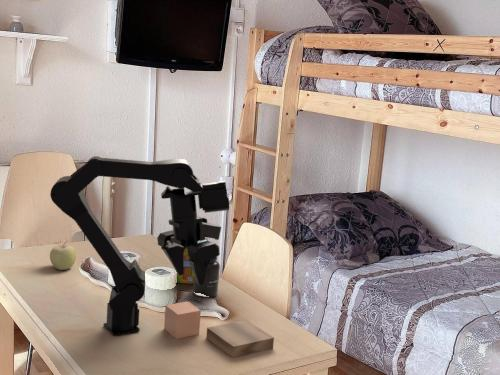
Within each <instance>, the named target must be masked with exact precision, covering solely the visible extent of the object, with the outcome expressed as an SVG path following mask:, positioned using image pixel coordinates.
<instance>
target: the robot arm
mask: <svg viewBox="0 0 500 375" xmlns="http://www.w3.org/2000/svg"><path fill="white" fill-rule="evenodd" d="M98 177H106V178H107V177H108V178H116V179H117V178H120V179H130V180H131V179H133V180H142V181H143V180H146V181H153V182H156V183H159V184H162V185H164V186H166V187H165V189H164V190H163V191H162V192H161V194H160V196H161V199H162V200H163V199H169V203H170V204H169V205H170V212H171V213H170V214H171V219H168V225H170V226H172V230H168V231H164V232H160V233H159V234H158V236H157V237H156V238H157V246H159V247H160V249H161V250H162V251H163V252H164V254H165V256H167V259H168V260H169V262H170V264H171V265H172V267H173V268H174V271H175V270H176V272H177V273H178V275H183V271H184V250H185V248H187V249H188V256H189V258H190V259H188V261H189V263H190V266H191V268H192V270H193V273H194V275H195V278H196V280H197V282H198V284H199V285H203V284H204V280H205V276H206V272H207V268H208V265H209V263H210V261H211V260H212V259H215V258H216V256H217V257H219V256H220V255H221V253H220V246H219V245H218V244H217V243H215V242H212V241H210V240H208V241H204V242H200V243H198V241H203V240H205V238H208V239H214V240H216V241H217V240H220V235H221V232H222V231H221V230H222V226H219V225H218V224H214V223H210V222H208V219H207V218H205V217H202V216H198V212H197V202H196V201H197V200H198V207H199V210H201V209H202V211H204V213H215V212H216V213H217V212H223V211H229V210H230V200H229V195H228V190H227V184H226V183H227V182H226V181H225V180H218V181H216V182H215V181H214V182H208V183H207V182H204V183H202V181H201V179H200V178H198V177H197V176H196V175H195V174H194V171H193V168H192V166H191V164H190V162H189V161H188V160H186V159H185V158H173V159H172V158H171V159H163V160H157V161H145V160H144V161H143V160H135V159H134V160H133V159H119V158H111V157H110V158H109V157H108V158H107V157H100V156H97V155H96V156H91V157H90V158H89V159H88V160H87V162H86V163H84V164H83V165H82V166H81V167H79V168H78V169H76V170H75V171H73V173H72V174H71V175H65V176H64V175H63V176H62V177H60V178H59V179H57V180H56V182H55V183H54V184H53V185H52V187H51V189H50V195H49V196H50V199H51V201H52V202H53V204H55V205H56V206H57V208H58V209H59V210H60V211H62V212H63V213H64V214H65V215H67V216H68V217H69V218H70V219H72V220H73V221H74V222H75V223H76V224H77V226H78V227H79V229H80V230H81V232H82V233H83V235H84V236H85V238H86V239H87V240H88V242H89V243H90V244H91V246H92V248H93V249H94V250H95V252H96V253H97V254H98V256H99V257H100V259H101V260H102V261H103V263H104V265H105V266H106V267H107V269H108V270H109V272H110V274H111V277H112V281H113V283H114V286H113V287H112V288H111V291H110V295H109V300H108V302H107V306H106V307H107V308H106V322H104V323H103V327H104V328H105V329H106V330H108V331H109V333H110V334H111V335H113V336H116V337H117V336H121V335H127V334H132V333H137V332H140V331H141V330H140V329H141V328H140V327H139V324H140V308H138V307H139V304H138V303H137V302H138V301H140V300H141V299H142V298H143V297H144V295H145V292H146V276H145V275H146V274H145V273H146V272H145V270H144V269H142V268H141V267H140V266H139V263H138V261H137V259H133V261H131V262H130V261H129V260H127V259H126V257H124V255H123V254H122V253H121V251H120V250H119V248H118V246H116V243H114V241H113V240H112V238H111V236H110V235H109V234H108V232H107V231H106V230H105V228H104V227H103V225H102V224H101V222H100V221H99V220H98V218H97V216H96V215H95V214H94V212H93V211H92V209H91V207H90V205H89V202H88V199H87V196H86V193H85V191H84V189H85V188H87V186H88V185H90V184H91V183H92V182H93V181H94V180H95V179H96V178H98ZM171 187H172V188H171ZM185 188H186V189H187V190H185ZM196 196H197V200H196Z"/></svg>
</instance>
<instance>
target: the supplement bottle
mask: <svg viewBox="0 0 500 375" xmlns="http://www.w3.org/2000/svg"><path fill="white" fill-rule="evenodd" d="M217 260H218V256H216V258H215V259H212V260H211V261H210V263H209V265H208V268H207V272H206V276H205V280H204V284H203V285H199V284H198V282H197V280H196V278H195V275H194V284H192V285H193V286H192V293H193V292H195V293H201V294H204V295H206V296H209V297H210V298H214V297H216V296H217V295H218V292H219V281H220V269H221V264H220V262H219V261H217Z"/></svg>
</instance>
